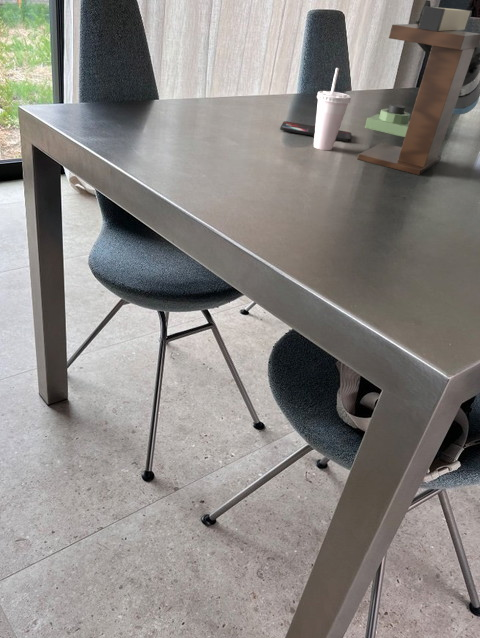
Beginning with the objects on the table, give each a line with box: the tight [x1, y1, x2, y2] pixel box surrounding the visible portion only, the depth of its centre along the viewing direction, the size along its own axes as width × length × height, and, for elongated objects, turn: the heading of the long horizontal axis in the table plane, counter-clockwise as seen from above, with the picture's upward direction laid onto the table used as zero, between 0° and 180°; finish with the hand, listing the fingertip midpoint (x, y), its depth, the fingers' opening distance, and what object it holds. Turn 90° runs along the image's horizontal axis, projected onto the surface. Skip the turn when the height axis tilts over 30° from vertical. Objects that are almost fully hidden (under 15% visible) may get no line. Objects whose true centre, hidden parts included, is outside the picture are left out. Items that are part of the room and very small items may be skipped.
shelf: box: [357, 23, 480, 176], centre depth 104 cm, size 12×14×22 cm
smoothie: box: [313, 67, 352, 151], centre depth 108 cm, size 6×6×14 cm
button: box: [387, 103, 406, 114], centre depth 130 cm, size 4×4×2 cm
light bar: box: [418, 5, 473, 31], centre depth 99 cm, size 3×22×3 cm, turn 147°
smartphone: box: [279, 121, 352, 143], centre depth 121 cm, size 7×1×15 cm
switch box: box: [364, 108, 411, 138], centre depth 131 cm, size 10×8×4 cm
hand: (461, 12), depth 106 cm, fingers open, 13 cm apart
